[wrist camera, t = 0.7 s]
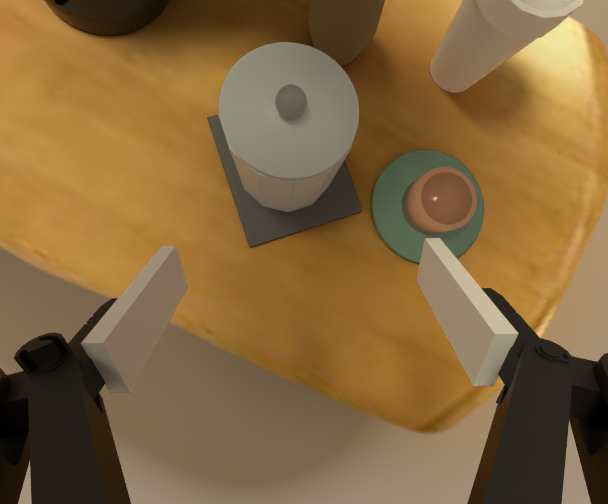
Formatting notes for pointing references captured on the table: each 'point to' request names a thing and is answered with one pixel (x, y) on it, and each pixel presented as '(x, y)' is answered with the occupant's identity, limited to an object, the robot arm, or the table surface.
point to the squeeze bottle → (343, 26)
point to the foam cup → (492, 37)
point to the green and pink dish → (426, 204)
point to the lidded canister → (288, 122)
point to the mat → (277, 223)
